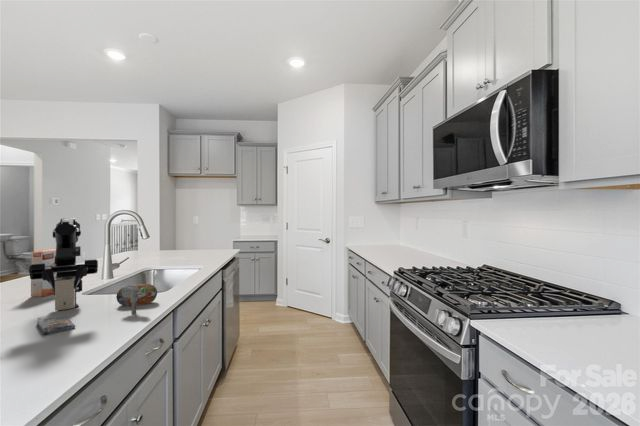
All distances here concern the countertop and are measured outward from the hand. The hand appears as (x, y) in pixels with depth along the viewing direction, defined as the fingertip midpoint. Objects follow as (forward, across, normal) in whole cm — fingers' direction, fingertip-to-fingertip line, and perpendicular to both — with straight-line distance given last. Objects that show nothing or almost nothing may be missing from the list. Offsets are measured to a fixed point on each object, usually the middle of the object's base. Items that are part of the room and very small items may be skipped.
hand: (64, 289), depth 106 cm
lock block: (+4, 0, +6) cm, 7 cm away
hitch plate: (+8, -2, +11) cm, 14 cm away
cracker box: (-31, -7, +52) cm, 61 cm away
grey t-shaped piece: (+7, +21, +12) cm, 25 cm away
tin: (-1, +24, +20) cm, 31 cm away
